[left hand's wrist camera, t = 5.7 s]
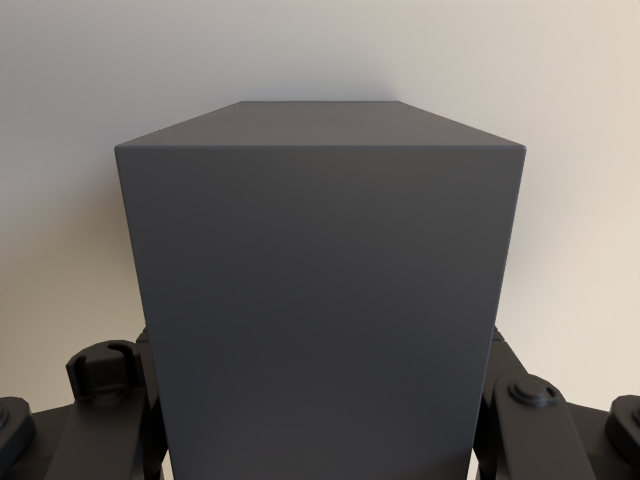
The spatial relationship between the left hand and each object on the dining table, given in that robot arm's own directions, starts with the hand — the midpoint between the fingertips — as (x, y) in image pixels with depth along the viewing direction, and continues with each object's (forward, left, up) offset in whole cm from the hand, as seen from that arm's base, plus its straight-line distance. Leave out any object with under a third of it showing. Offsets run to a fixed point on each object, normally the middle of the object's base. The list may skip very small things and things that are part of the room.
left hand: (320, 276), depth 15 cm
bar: (+20, -22, -1) cm, 29 cm away
